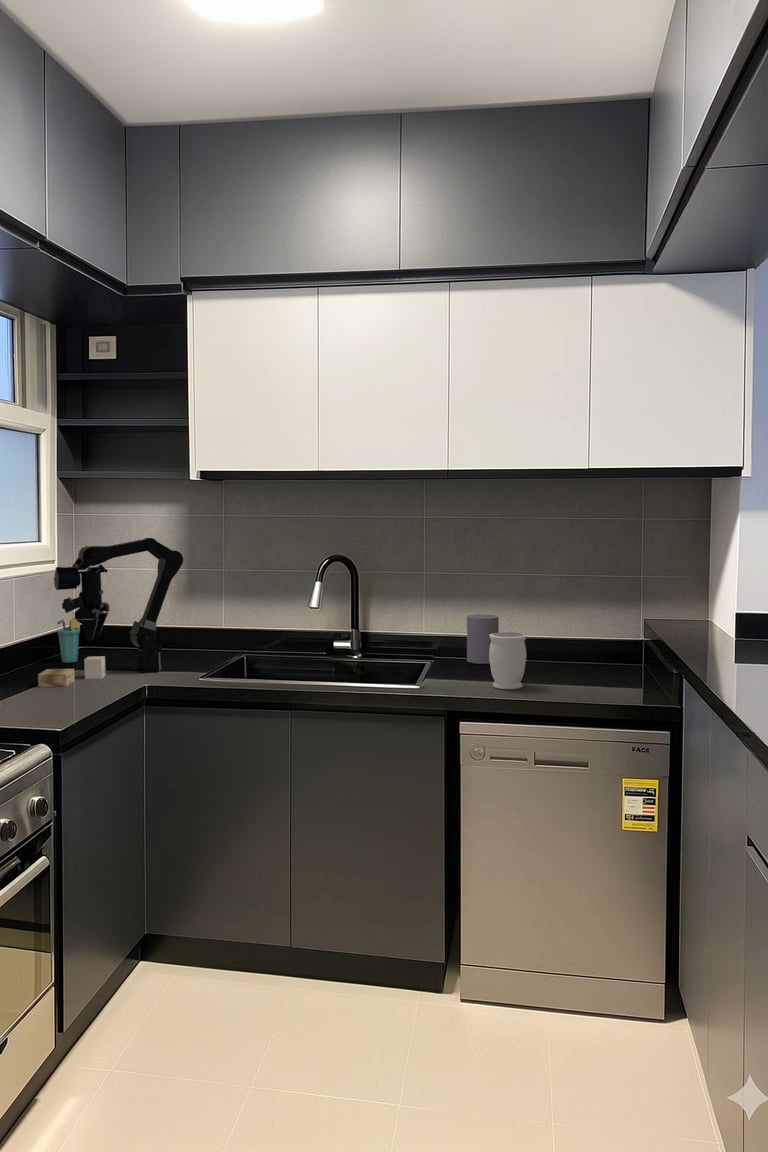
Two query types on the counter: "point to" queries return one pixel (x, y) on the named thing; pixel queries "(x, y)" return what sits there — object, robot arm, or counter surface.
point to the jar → (507, 659)
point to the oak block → (56, 678)
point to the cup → (69, 640)
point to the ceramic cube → (94, 667)
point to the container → (480, 637)
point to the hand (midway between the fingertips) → (93, 638)
